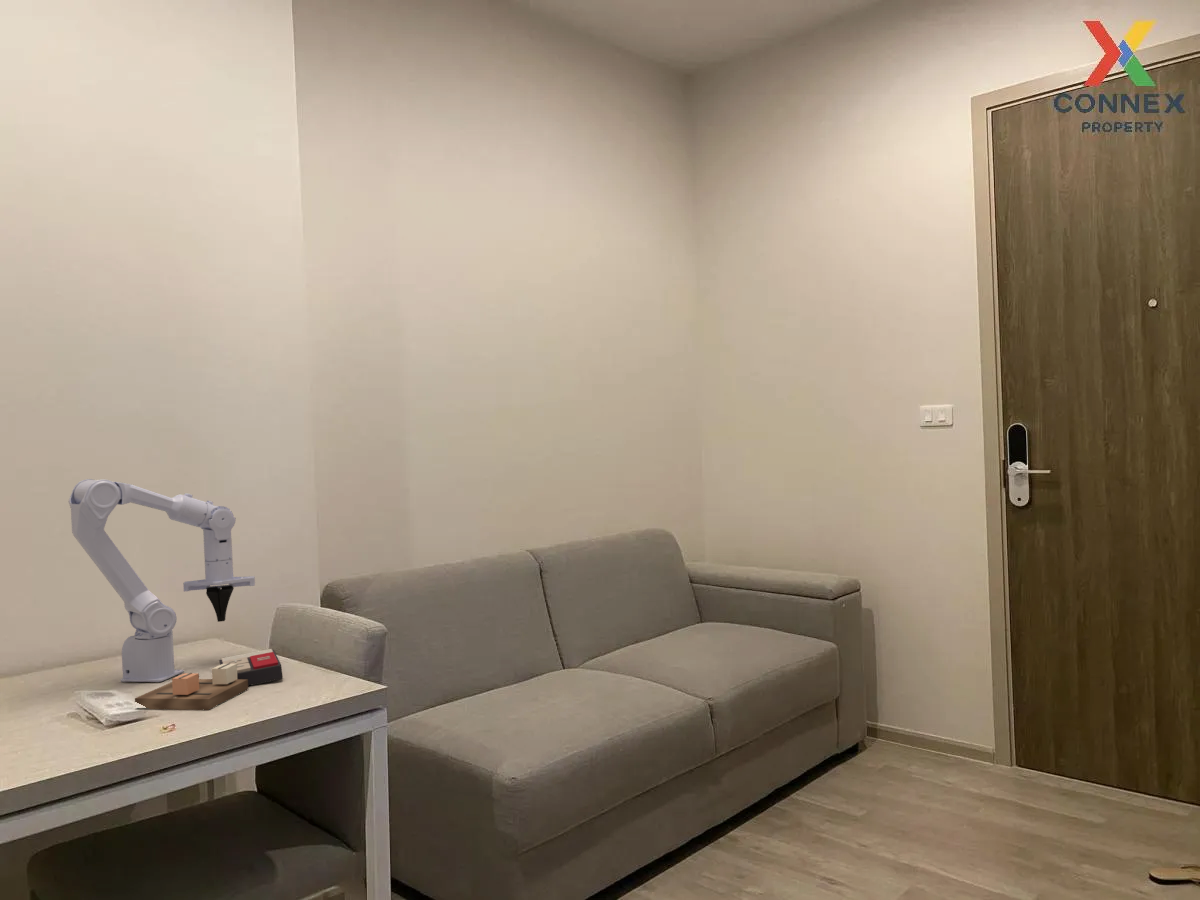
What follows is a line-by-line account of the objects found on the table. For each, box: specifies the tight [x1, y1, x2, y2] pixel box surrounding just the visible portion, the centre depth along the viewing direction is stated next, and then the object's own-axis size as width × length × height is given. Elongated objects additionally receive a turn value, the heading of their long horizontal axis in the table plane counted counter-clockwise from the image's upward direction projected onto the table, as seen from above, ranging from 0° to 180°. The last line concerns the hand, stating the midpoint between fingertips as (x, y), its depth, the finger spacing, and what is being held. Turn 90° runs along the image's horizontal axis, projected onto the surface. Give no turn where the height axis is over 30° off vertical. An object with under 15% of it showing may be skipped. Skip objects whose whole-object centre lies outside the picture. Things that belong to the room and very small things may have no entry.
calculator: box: [219, 648, 284, 687], centre depth 187 cm, size 11×4×15 cm
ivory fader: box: [211, 663, 237, 684], centre depth 175 cm, size 3×4×3 cm
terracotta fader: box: [171, 672, 200, 695], centre depth 169 cm, size 3×4×3 cm
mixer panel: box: [134, 678, 249, 711], centre depth 172 cm, size 15×13×2 cm
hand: (221, 620), depth 200 cm, fingers closed
